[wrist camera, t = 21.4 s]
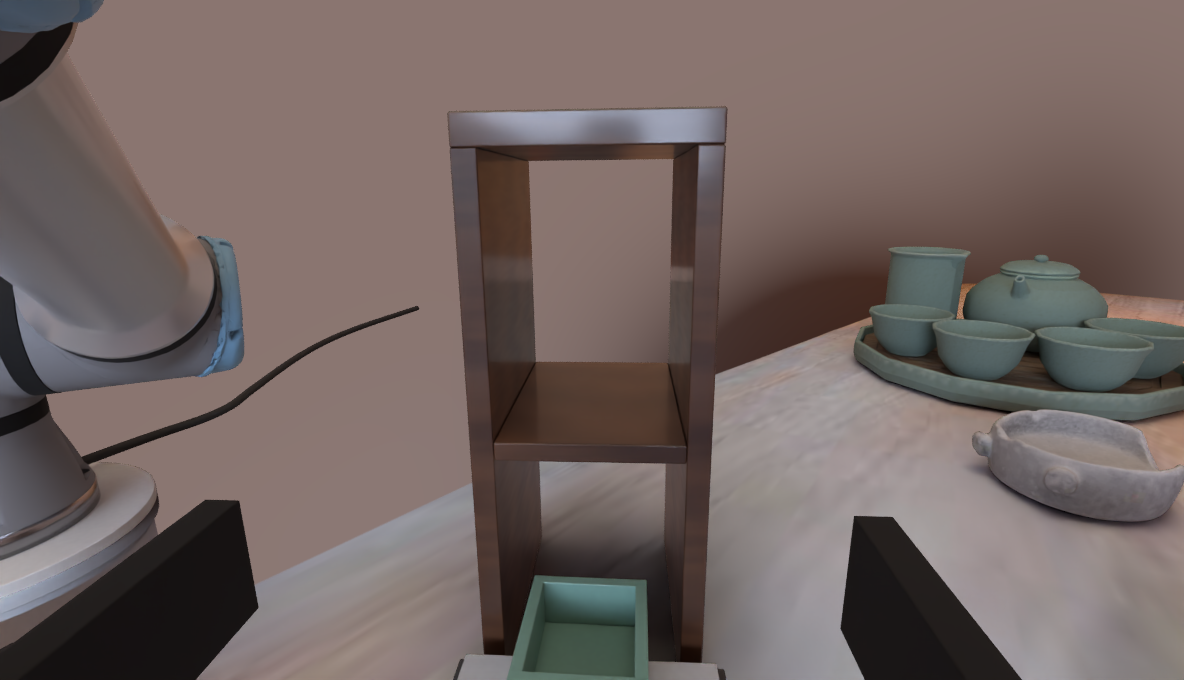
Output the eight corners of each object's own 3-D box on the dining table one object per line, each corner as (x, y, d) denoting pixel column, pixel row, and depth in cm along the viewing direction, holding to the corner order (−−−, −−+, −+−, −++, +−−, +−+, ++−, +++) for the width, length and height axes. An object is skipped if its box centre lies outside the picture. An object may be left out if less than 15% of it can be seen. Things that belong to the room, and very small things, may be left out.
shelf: (527, 536, 46) (509, 137, 39) (679, 540, 46) (692, 134, 38) (485, 680, 33) (446, 111, 25) (700, 689, 32) (727, 105, 25)
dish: (1094, 454, 59) (1105, 408, 58) (1229, 532, 46) (1247, 474, 45) (946, 451, 60) (953, 405, 59) (1036, 527, 47) (1048, 470, 46)
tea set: (840, 392, 78) (853, 268, 73) (865, 328, 112) (875, 241, 107) (1262, 453, 59) (1312, 292, 55) (1139, 355, 93) (1164, 250, 89)
